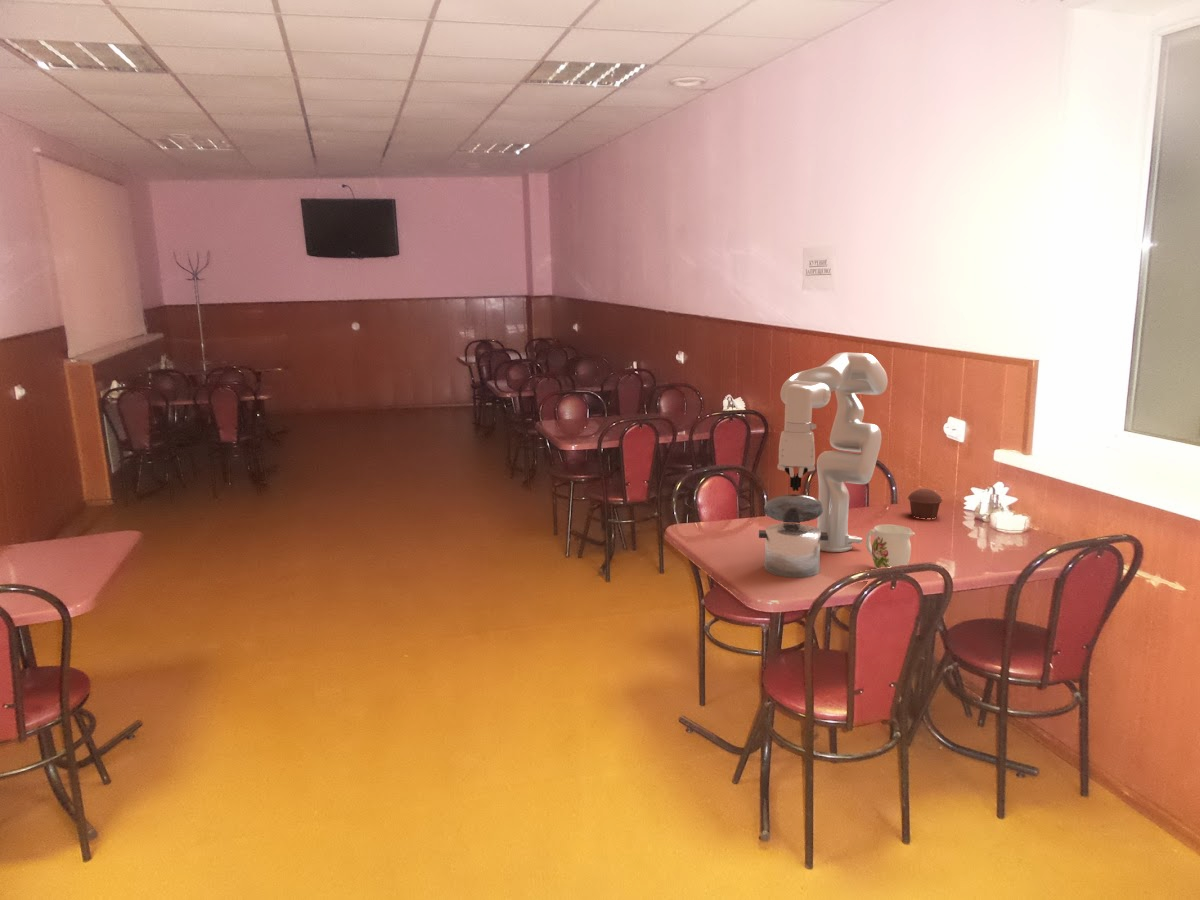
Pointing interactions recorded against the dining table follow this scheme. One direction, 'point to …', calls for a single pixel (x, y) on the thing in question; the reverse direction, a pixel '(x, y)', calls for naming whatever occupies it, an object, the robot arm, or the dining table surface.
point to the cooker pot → (792, 549)
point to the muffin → (924, 503)
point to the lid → (793, 508)
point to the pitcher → (889, 545)
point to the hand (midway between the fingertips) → (795, 489)
